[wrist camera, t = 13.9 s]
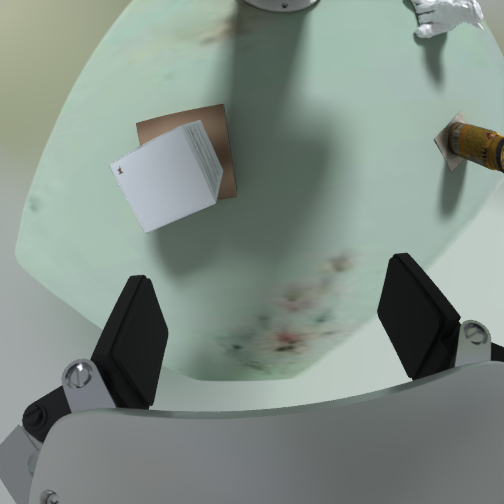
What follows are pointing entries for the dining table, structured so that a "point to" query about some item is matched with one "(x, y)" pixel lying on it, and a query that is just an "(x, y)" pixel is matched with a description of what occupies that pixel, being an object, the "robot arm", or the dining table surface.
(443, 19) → the sitting furry creature
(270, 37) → the dining table surface
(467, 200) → the dining table surface
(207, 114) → the walnut base
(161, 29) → the dining table surface
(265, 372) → the dining table surface
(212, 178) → the supplement box
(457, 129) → the condiment
